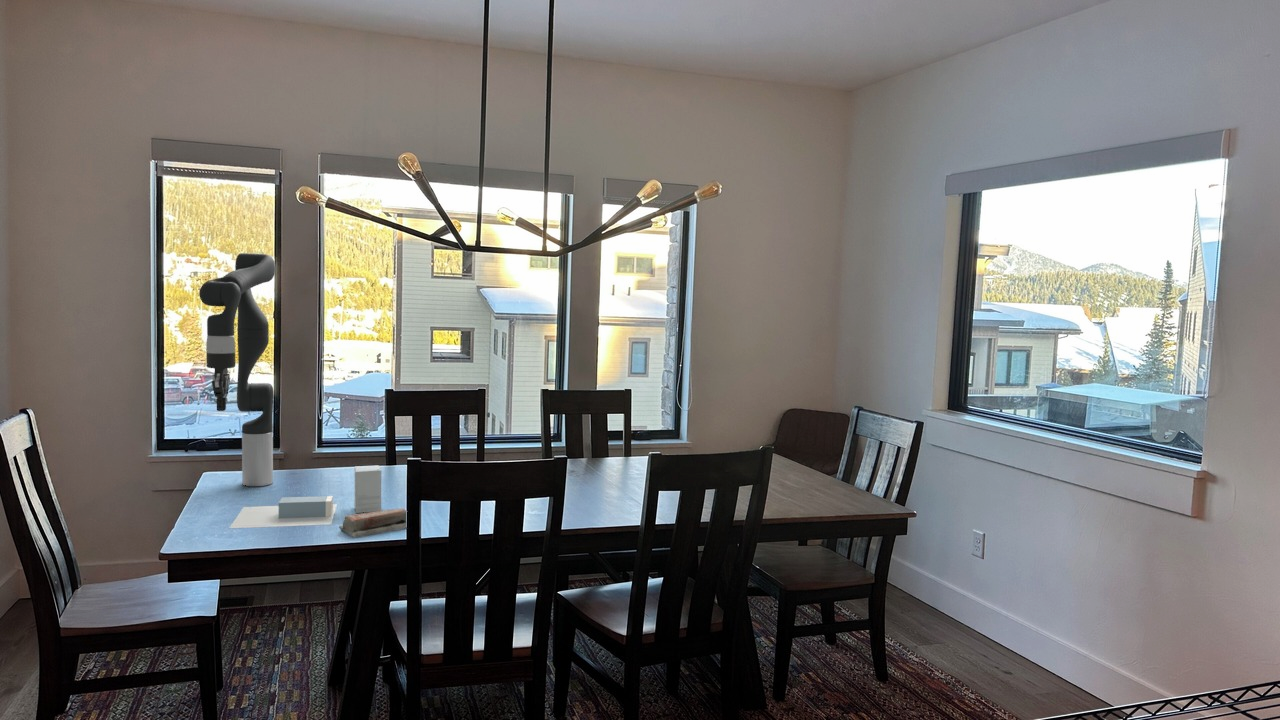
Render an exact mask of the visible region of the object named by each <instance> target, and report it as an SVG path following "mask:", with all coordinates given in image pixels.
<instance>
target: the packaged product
mask: <svg viewBox="0 0 1280 720" xmlns="http://www.w3.org/2000/svg"><path fill="white" fill-rule="evenodd" d="M406 511H407V510H406V509H404V508H394V509H385V510H381V511H377V512H364V513H356V514H350V515H347V516H346V515H345V517H344V520H343V522H342V525H340V526H338V527H339V528H340V530H341V532H343V533H346V534H347V535H349V536H350V537H351V536H352V537H353V538H361V537H365V536H371V535H376V534H382V533H388V532H395V531H399V530H404V529H407V528H406Z"/></svg>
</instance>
